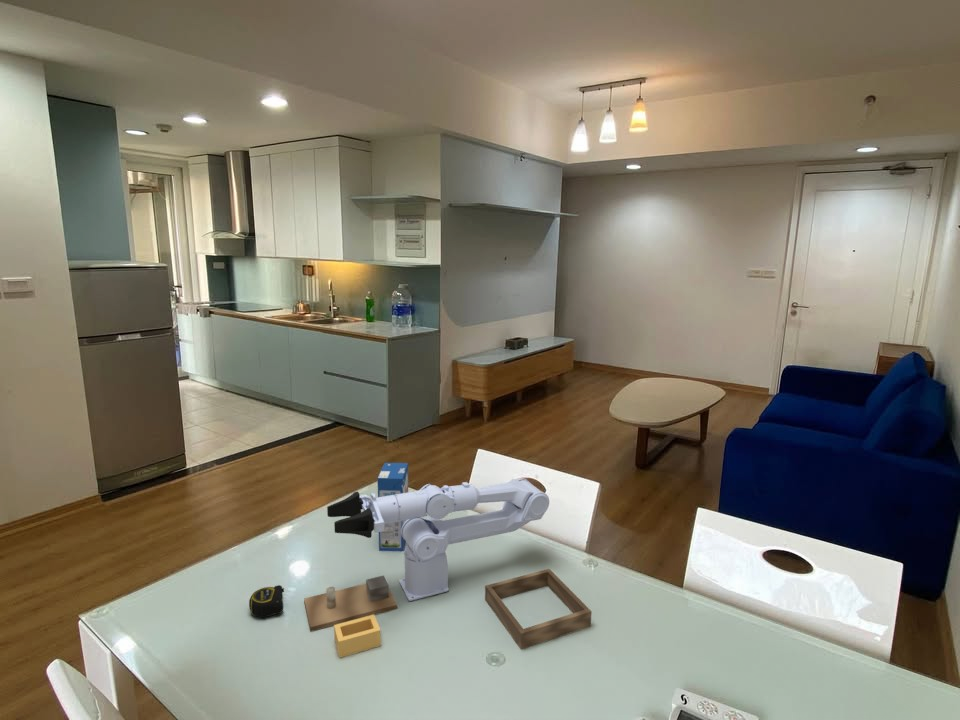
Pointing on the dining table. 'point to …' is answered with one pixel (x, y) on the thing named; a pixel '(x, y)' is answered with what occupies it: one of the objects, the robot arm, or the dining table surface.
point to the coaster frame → (543, 630)
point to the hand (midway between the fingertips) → (331, 519)
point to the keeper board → (349, 603)
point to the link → (357, 635)
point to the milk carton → (392, 483)
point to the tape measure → (266, 601)
